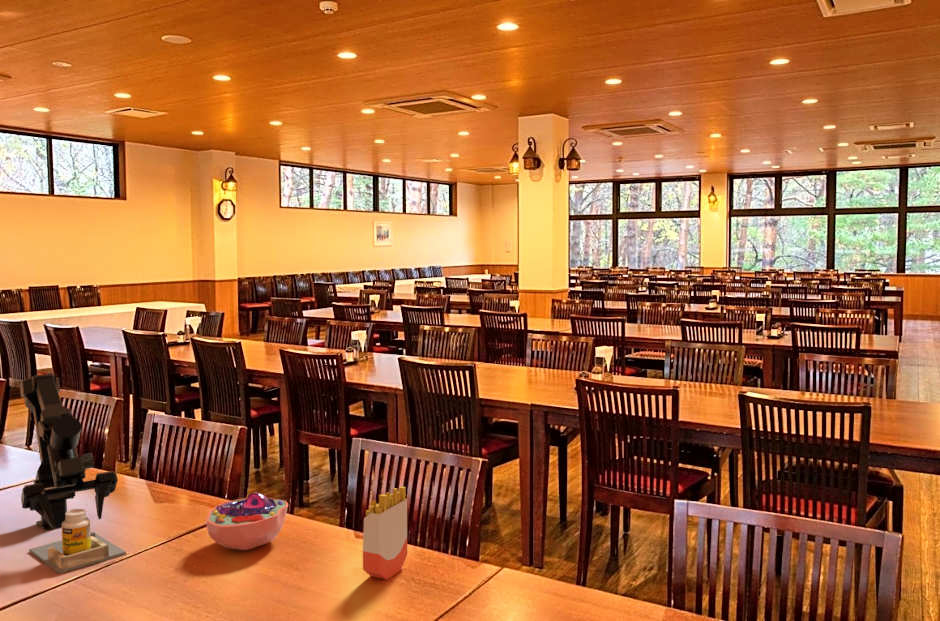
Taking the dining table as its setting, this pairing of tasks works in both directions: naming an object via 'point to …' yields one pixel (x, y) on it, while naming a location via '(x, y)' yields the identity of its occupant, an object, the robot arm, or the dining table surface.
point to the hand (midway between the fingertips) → (77, 523)
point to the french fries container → (385, 535)
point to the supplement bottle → (76, 532)
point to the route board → (42, 553)
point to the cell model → (246, 521)
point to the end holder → (79, 555)
